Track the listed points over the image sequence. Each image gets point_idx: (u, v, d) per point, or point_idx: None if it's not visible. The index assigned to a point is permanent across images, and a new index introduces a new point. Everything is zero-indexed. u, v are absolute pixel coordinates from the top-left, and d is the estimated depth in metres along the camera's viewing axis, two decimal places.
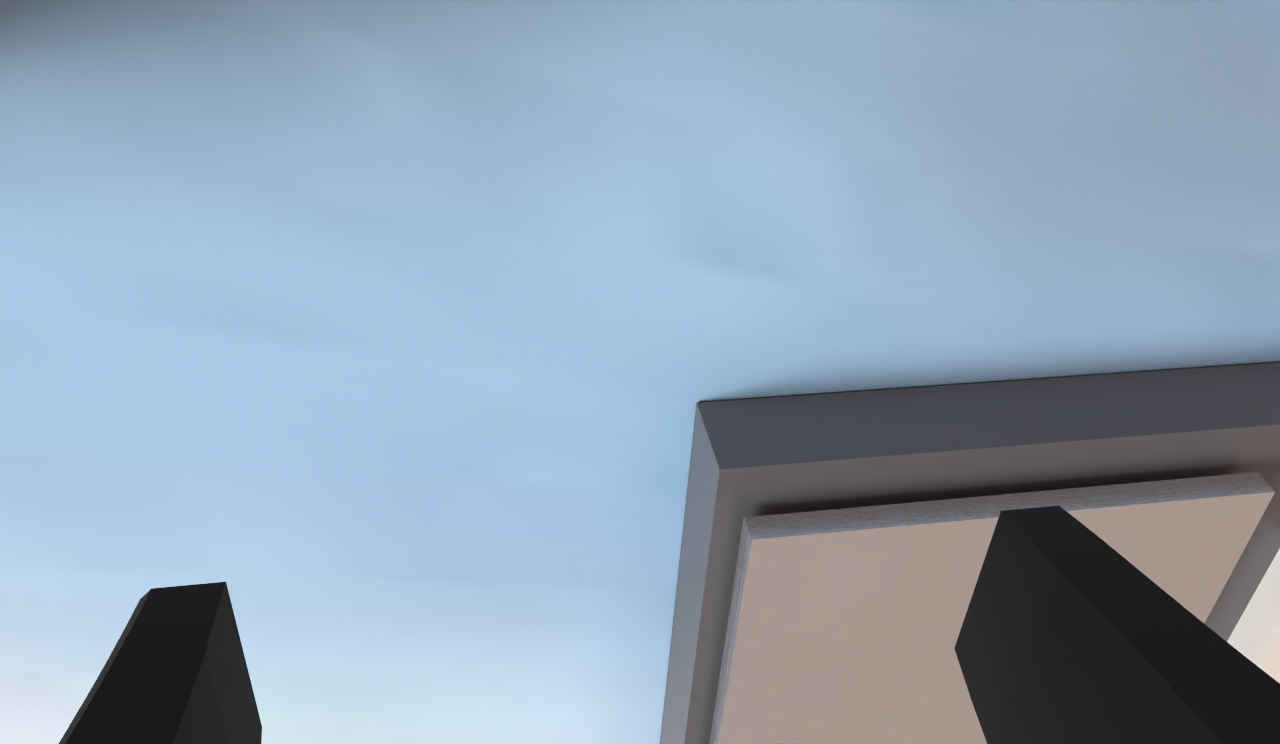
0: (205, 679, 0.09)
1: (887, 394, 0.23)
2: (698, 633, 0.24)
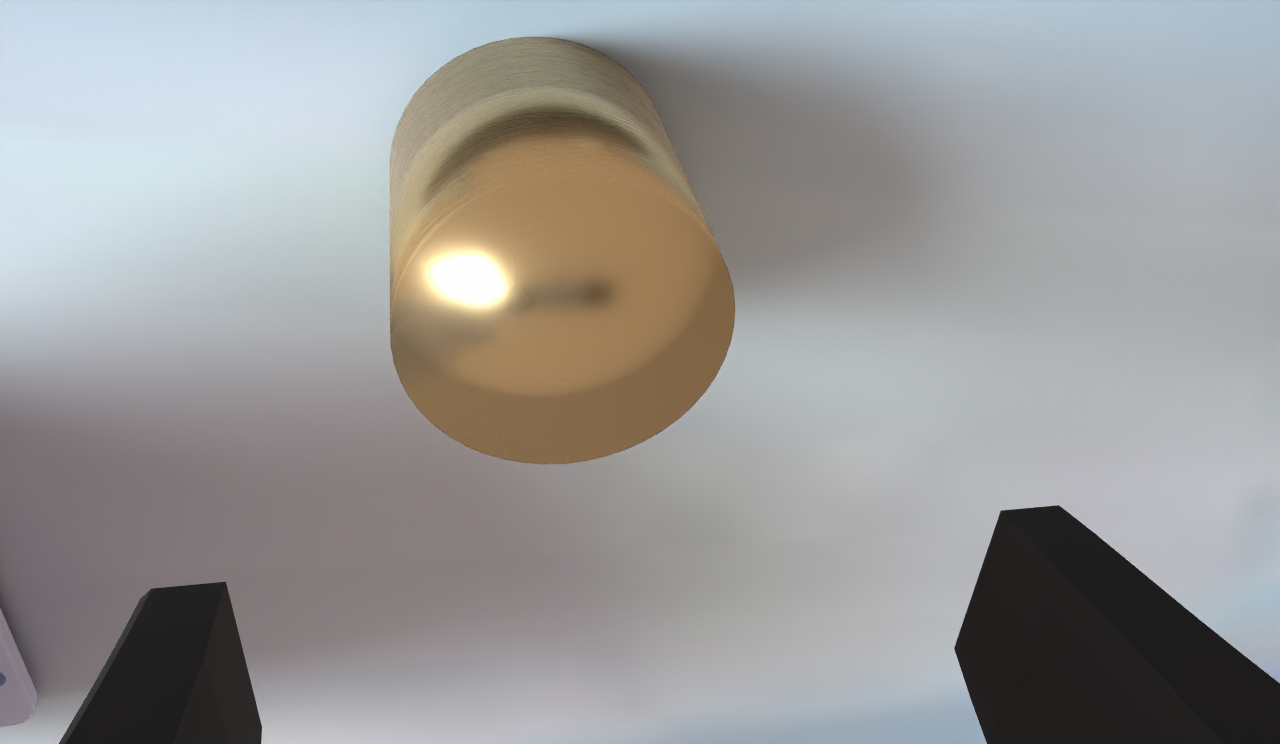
0: (205, 679, 0.09)
1: None
2: None
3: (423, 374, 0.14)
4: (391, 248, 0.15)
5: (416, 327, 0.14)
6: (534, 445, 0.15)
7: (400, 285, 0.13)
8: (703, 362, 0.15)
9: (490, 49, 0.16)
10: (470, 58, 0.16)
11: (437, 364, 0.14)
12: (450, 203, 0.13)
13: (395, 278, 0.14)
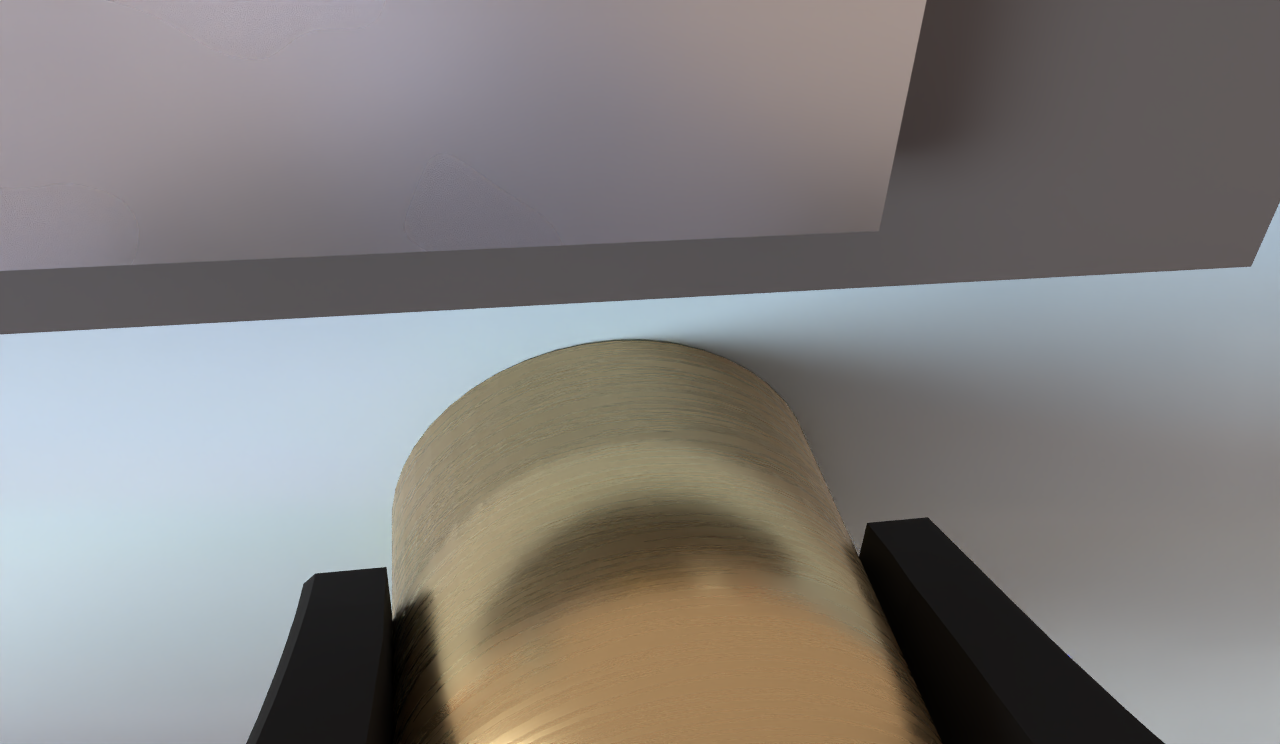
0: (383, 660, 0.09)
1: None
2: None
3: None
4: None
5: None
6: None
7: None
8: None
9: (551, 368, 0.10)
10: (520, 383, 0.10)
11: None
12: None
13: None
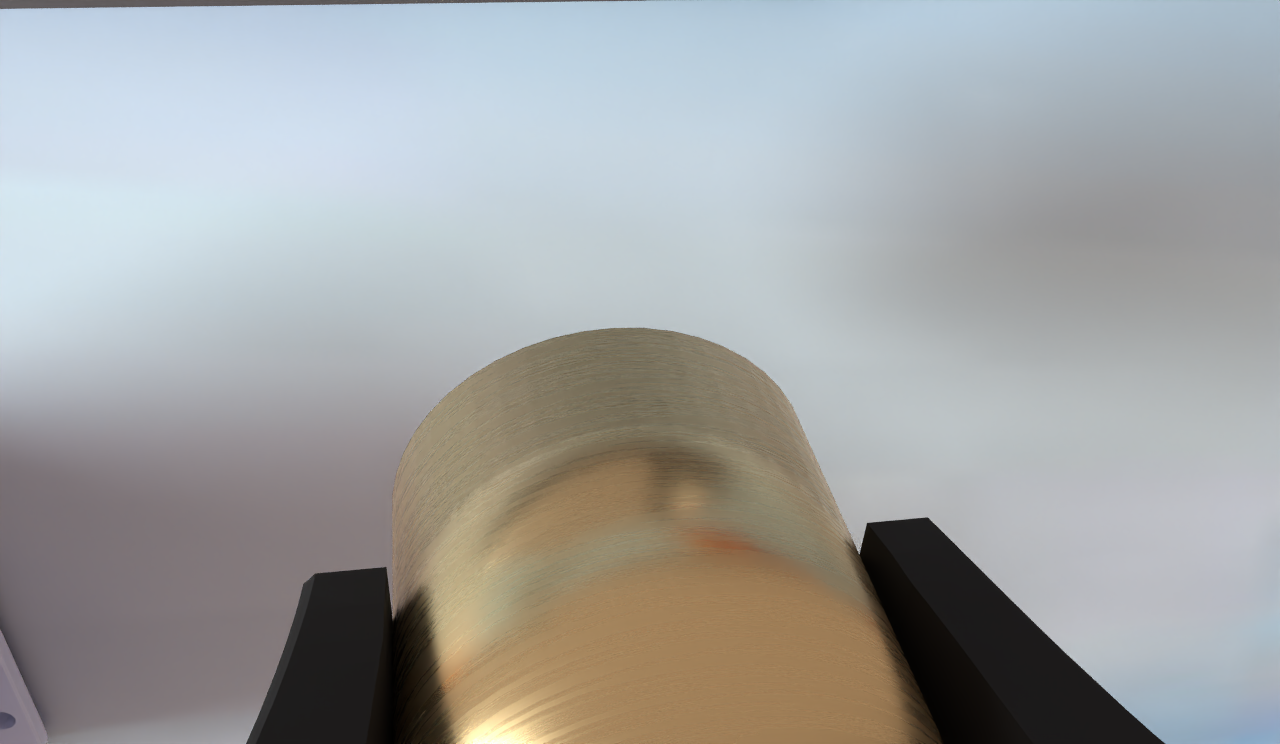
0: (382, 661, 0.09)
1: None
2: None
3: None
4: (395, 731, 0.09)
5: None
6: None
7: None
8: None
9: (550, 355, 0.10)
10: (519, 369, 0.10)
11: None
12: None
13: None
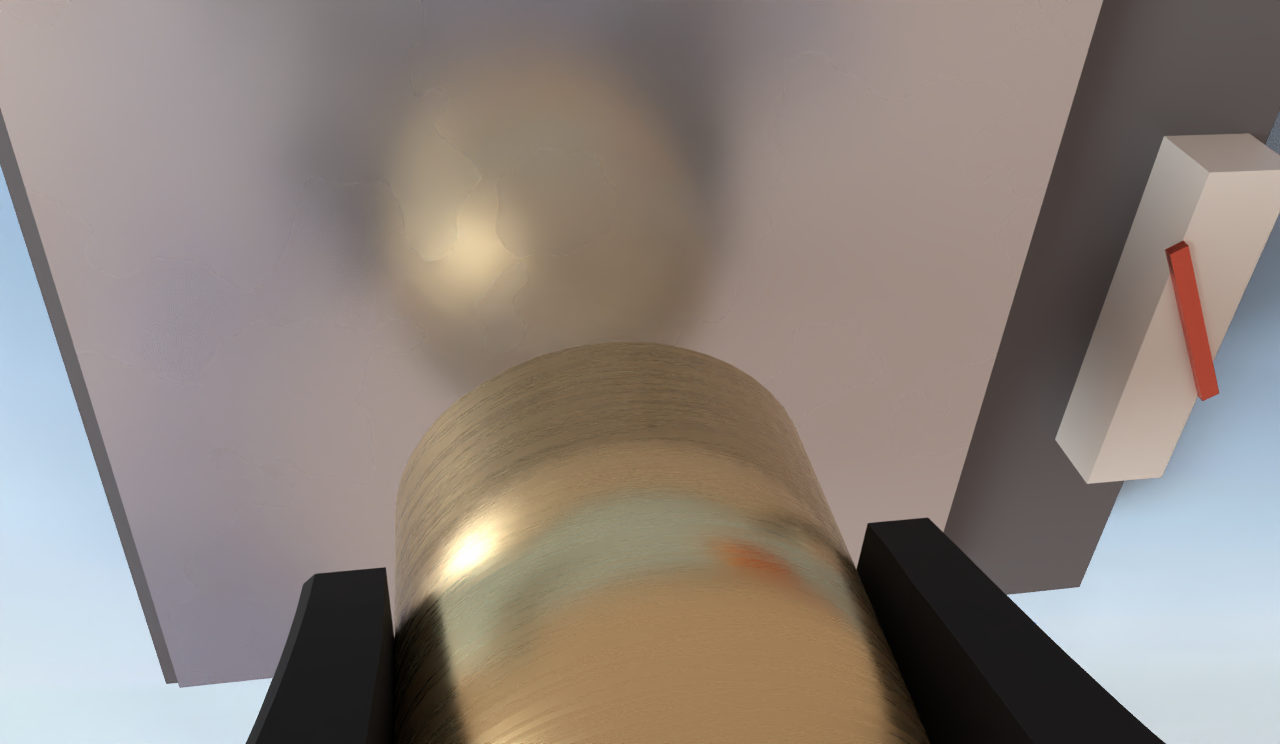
0: (382, 661, 0.09)
1: None
2: (35, 268, 0.13)
3: None
4: None
5: None
6: None
7: None
8: None
9: (533, 375, 0.10)
10: (503, 391, 0.10)
11: None
12: None
13: None
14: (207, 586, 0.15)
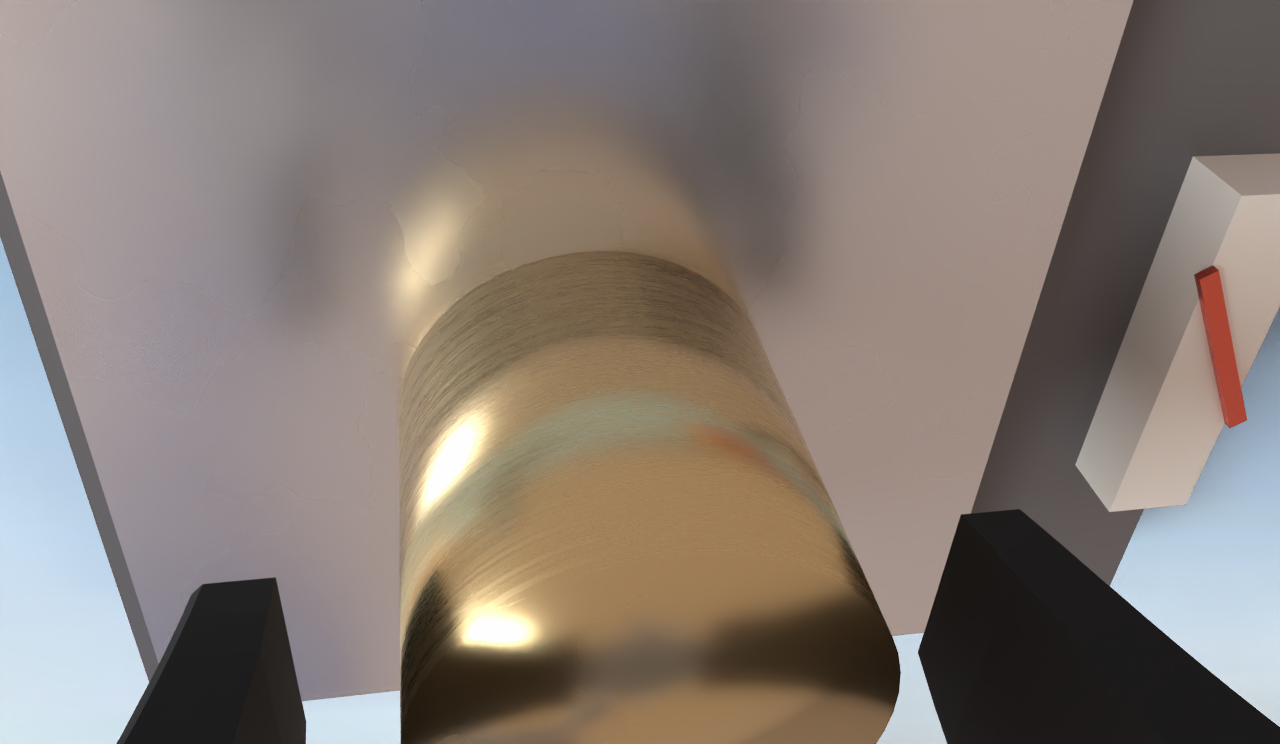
0: (260, 673, 0.09)
1: None
2: (22, 296, 0.12)
3: None
4: (400, 599, 0.11)
5: None
6: None
7: (410, 711, 0.09)
8: (854, 737, 0.10)
9: (521, 277, 0.12)
10: (495, 292, 0.12)
11: None
12: (477, 591, 0.09)
13: (404, 679, 0.10)
14: None
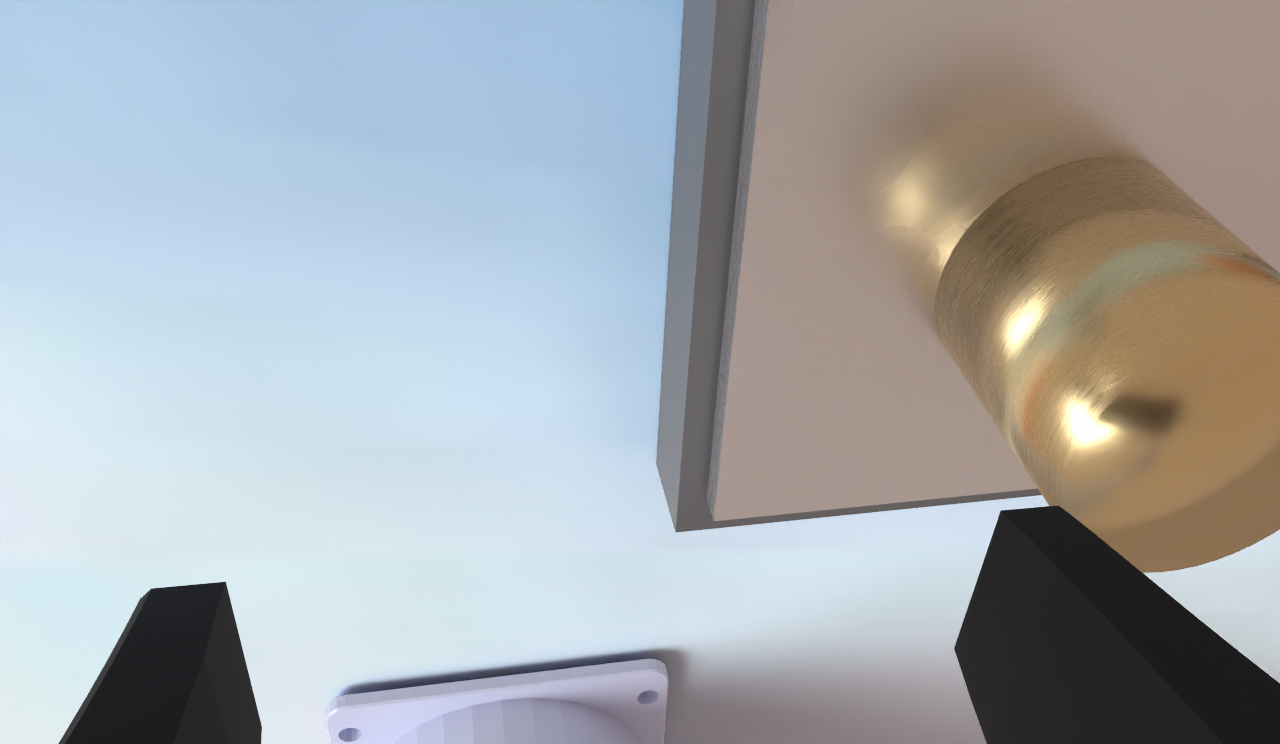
0: (205, 679, 0.09)
1: None
2: (701, 194, 0.17)
3: (1084, 505, 0.15)
4: (1021, 383, 0.16)
5: (1092, 465, 0.15)
6: (1157, 556, 0.16)
7: (1092, 431, 0.14)
8: None
9: (1058, 175, 0.17)
10: (1040, 185, 0.17)
11: (1099, 495, 0.15)
12: (1140, 352, 0.14)
13: (1066, 420, 0.15)
14: (762, 436, 0.19)
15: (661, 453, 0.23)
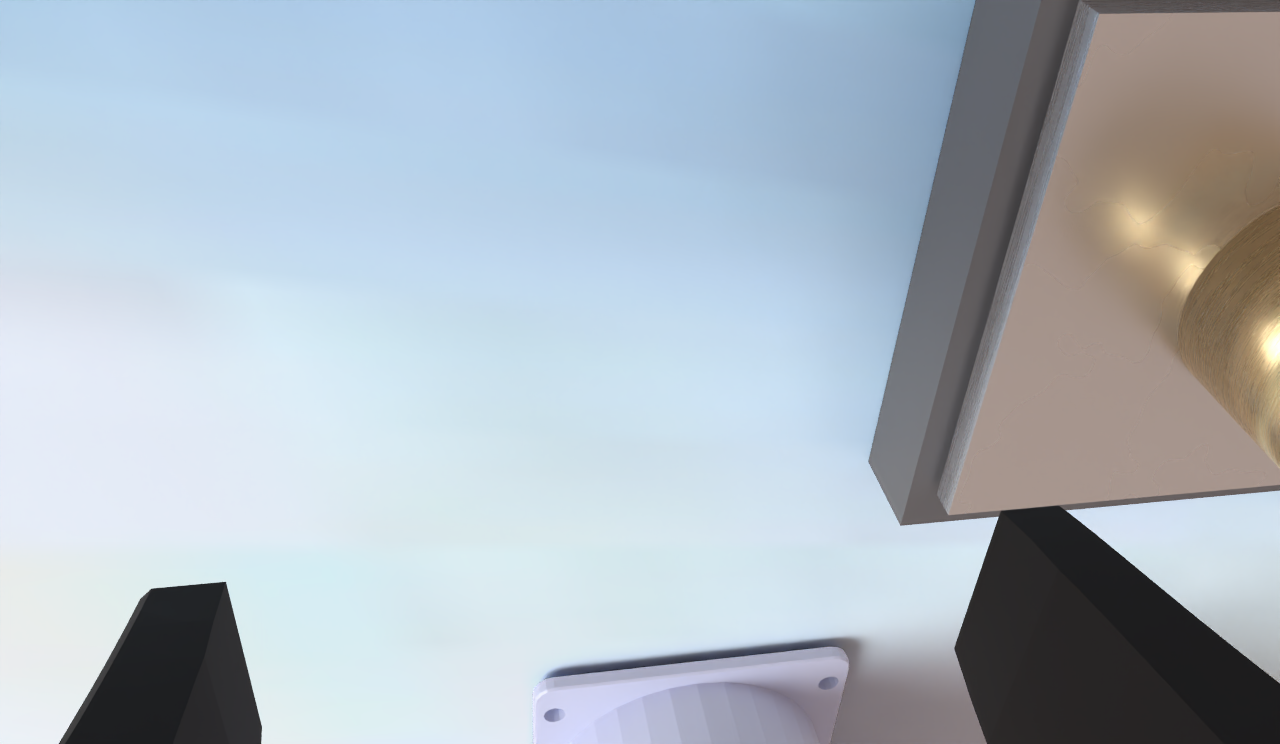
0: (205, 679, 0.09)
1: None
2: (983, 214, 0.19)
3: None
4: None
5: None
6: None
7: None
8: None
9: None
10: None
11: None
12: None
13: None
14: (1006, 436, 0.21)
15: (879, 452, 0.24)
